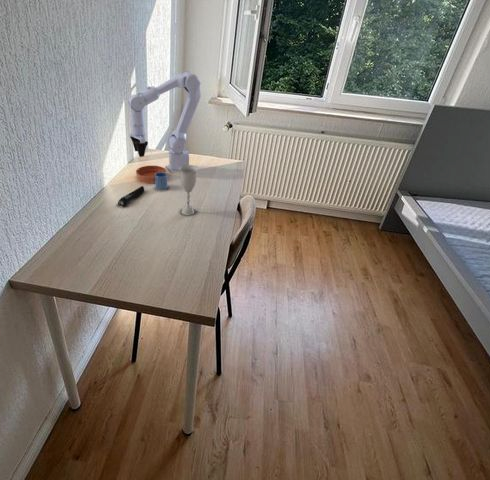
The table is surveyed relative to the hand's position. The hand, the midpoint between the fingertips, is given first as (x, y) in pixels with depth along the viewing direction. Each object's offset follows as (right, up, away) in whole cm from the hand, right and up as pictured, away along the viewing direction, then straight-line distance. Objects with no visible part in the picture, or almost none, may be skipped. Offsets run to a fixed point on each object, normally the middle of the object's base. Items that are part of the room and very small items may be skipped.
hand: (139, 153), depth 162 cm
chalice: (+23, -29, -26) cm, 46 cm away
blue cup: (+11, -17, -9) cm, 22 cm away
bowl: (+6, -11, 0) cm, 13 cm away
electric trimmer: (0, -24, -18) cm, 30 cm away
